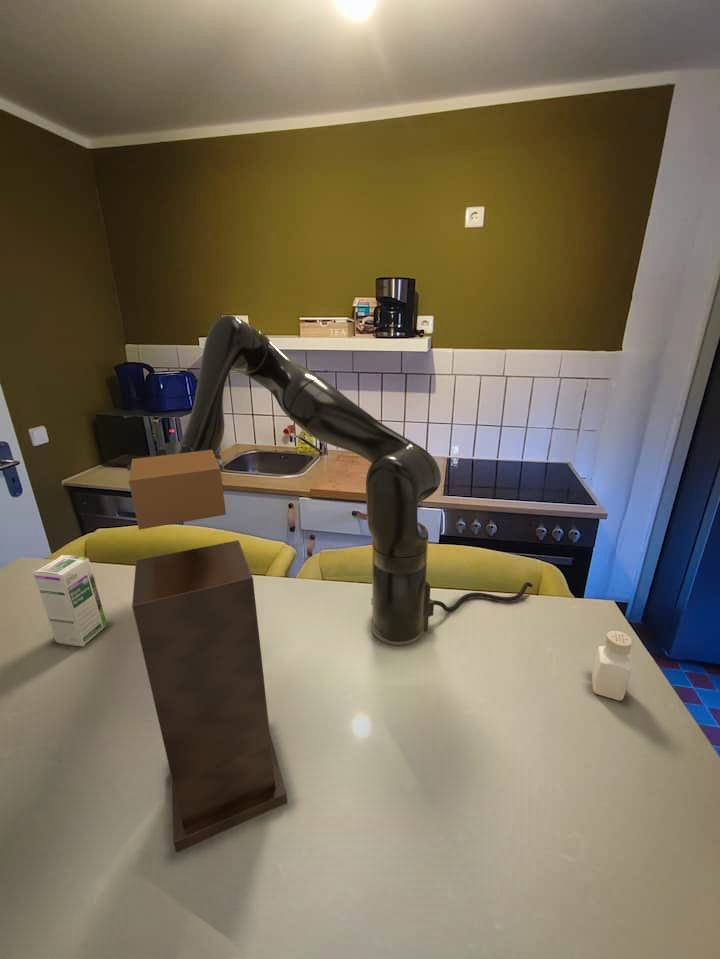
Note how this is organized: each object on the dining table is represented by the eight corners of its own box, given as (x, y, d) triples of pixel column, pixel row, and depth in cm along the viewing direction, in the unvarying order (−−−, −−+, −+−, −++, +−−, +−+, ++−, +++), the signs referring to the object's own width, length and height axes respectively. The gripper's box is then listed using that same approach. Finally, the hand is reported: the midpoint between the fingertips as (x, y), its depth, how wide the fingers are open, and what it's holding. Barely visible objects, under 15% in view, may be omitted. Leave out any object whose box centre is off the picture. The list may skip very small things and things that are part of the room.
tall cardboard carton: (203, 452, 64) (198, 419, 62) (226, 514, 43) (220, 468, 42) (144, 459, 61) (137, 424, 59) (138, 529, 40) (128, 480, 39)
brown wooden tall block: (268, 731, 58) (246, 534, 47) (287, 802, 49) (266, 580, 39) (172, 767, 53) (125, 557, 43) (175, 852, 45) (117, 616, 34)
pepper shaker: (620, 683, 65) (634, 633, 62) (623, 703, 62) (637, 651, 58) (591, 675, 67) (602, 625, 63) (592, 694, 63) (604, 642, 60)
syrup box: (83, 647, 73) (62, 574, 68) (54, 643, 74) (31, 571, 69) (108, 626, 78) (90, 556, 73) (80, 621, 79) (61, 553, 74)
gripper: (129, 462, 69) (109, 430, 53) (218, 451, 74) (224, 420, 58) (135, 508, 68) (117, 489, 52) (225, 494, 73) (234, 473, 57)
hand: (174, 453), depth 55 cm, fingers closed on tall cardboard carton
